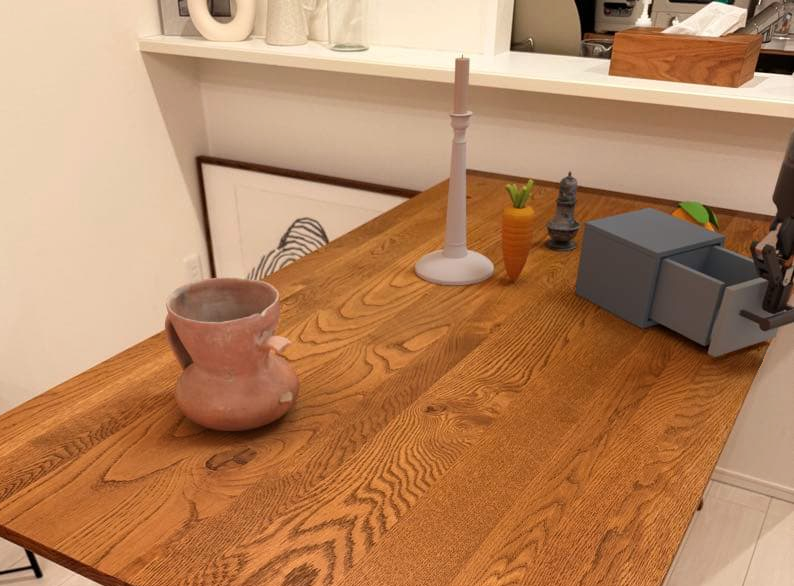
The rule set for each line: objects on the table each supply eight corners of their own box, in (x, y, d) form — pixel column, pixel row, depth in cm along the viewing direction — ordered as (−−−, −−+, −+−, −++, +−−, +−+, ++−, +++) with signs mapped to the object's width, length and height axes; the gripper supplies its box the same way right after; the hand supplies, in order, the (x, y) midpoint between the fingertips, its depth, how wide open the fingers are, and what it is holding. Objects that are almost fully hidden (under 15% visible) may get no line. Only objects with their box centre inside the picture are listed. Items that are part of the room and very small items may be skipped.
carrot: (493, 285, 119) (500, 183, 110) (501, 273, 123) (509, 174, 113) (524, 289, 118) (534, 186, 108) (531, 277, 121) (542, 177, 112)
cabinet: (706, 309, 111) (726, 235, 104) (641, 329, 107) (657, 252, 100) (636, 276, 121) (650, 207, 114) (574, 293, 117) (584, 221, 110)
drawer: (806, 351, 99) (830, 284, 93) (744, 372, 95) (765, 304, 89) (699, 301, 111) (715, 240, 106) (640, 318, 107) (653, 256, 101)
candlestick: (505, 263, 126) (522, 50, 107) (475, 290, 118) (488, 64, 98) (435, 251, 131) (439, 45, 112) (401, 277, 123) (400, 58, 103)
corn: (709, 189, 130) (744, 229, 115) (701, 235, 135) (733, 278, 119) (664, 193, 131) (692, 232, 115) (658, 238, 135) (684, 281, 120)
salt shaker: (537, 241, 134) (545, 168, 126) (567, 237, 135) (577, 164, 127) (553, 253, 130) (562, 177, 122) (584, 248, 131) (595, 173, 123)
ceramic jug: (334, 404, 92) (325, 290, 83) (253, 462, 83) (233, 340, 74) (225, 366, 100) (207, 258, 91) (140, 415, 91) (110, 300, 82)
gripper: (808, 178, 79) (759, 334, 90) (890, 159, 84) (833, 310, 95) (750, 162, 84) (710, 311, 95) (830, 144, 89) (783, 289, 100)
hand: (772, 310), depth 95 cm, fingers closed
